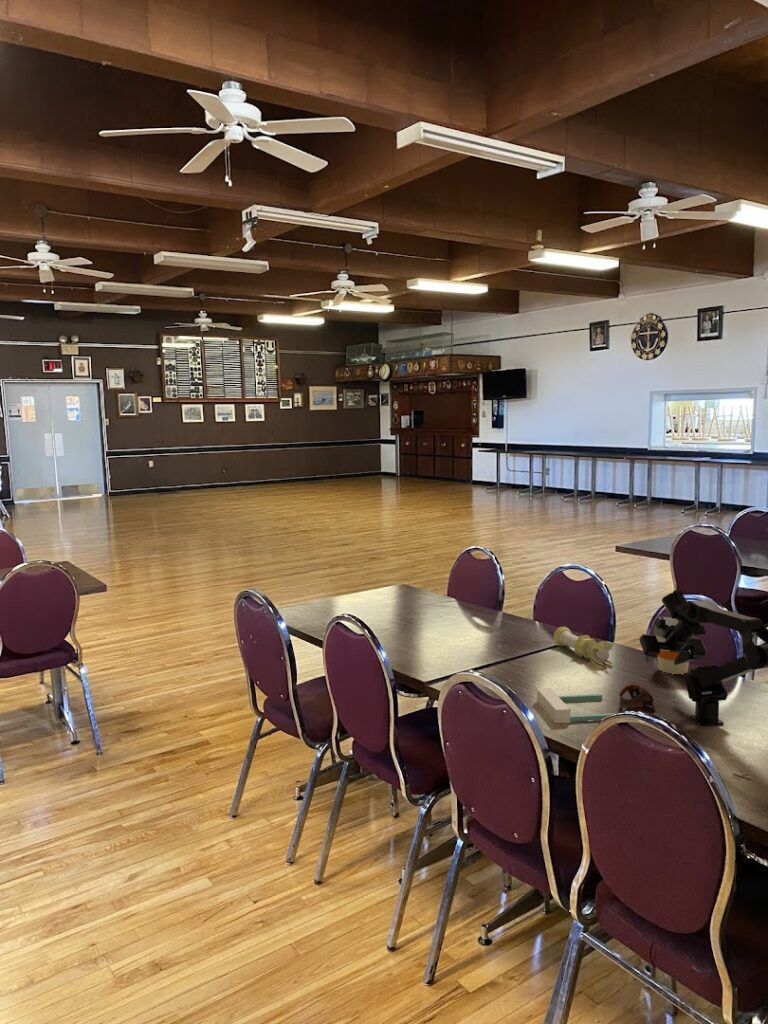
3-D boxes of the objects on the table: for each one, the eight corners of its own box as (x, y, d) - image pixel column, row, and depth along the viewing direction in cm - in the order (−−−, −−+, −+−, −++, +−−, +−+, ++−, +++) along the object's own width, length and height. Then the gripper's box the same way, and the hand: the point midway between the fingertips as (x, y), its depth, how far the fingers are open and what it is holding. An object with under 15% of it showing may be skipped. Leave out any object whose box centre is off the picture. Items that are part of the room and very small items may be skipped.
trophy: (552, 625, 274) (599, 646, 245) (569, 623, 276) (618, 644, 248) (551, 647, 274) (599, 670, 246) (569, 645, 277) (618, 668, 248)
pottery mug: (662, 716, 207) (651, 694, 205) (630, 729, 209) (619, 707, 207) (650, 691, 218) (639, 670, 216) (620, 703, 220) (609, 682, 218)
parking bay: (624, 720, 204) (624, 706, 203) (555, 724, 202) (556, 709, 201) (600, 698, 220) (600, 685, 220) (536, 701, 218) (536, 688, 218)
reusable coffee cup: (644, 667, 249) (646, 623, 247) (674, 662, 253) (675, 619, 251) (671, 678, 237) (672, 633, 235) (702, 673, 241) (703, 629, 240)
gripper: (704, 611, 217) (680, 642, 228) (645, 606, 214) (624, 638, 225) (717, 642, 209) (692, 673, 220) (656, 638, 206) (634, 669, 217)
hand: (660, 662), depth 221 cm, fingers open, 9 cm apart
